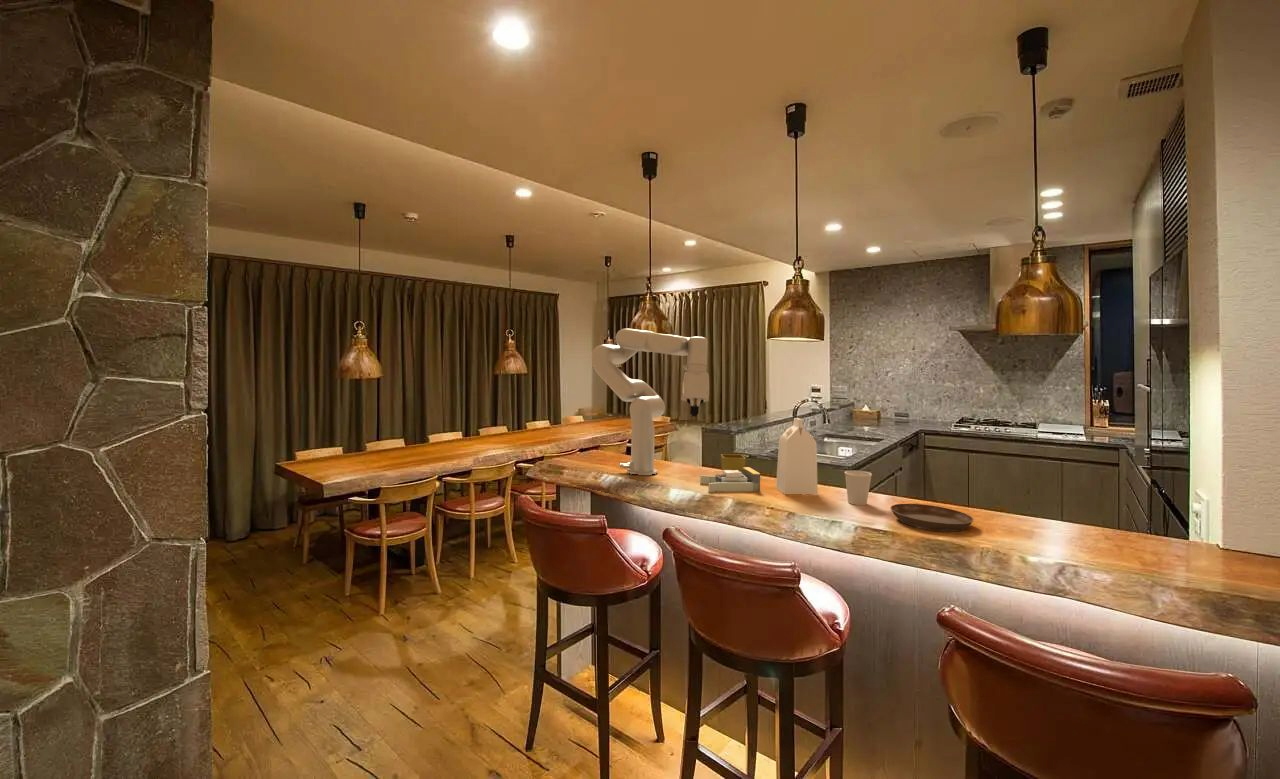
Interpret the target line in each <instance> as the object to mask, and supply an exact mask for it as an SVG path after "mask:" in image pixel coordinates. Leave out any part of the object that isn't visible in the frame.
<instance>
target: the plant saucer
mask: <svg viewBox="0 0 1280 779" xmlns="http://www.w3.org/2000/svg"><path fill="white" fill-rule="evenodd" d="M890 510H891V512H892V514H893V515H894V517H896V518H897V520H898V521H900V522H902V523H904V524H905V525H908V526H912V527H914V526H915V527H914V528H918V527H919V528H920V529H923V530H928V529H929V531H936V532H937V531H938V532H959V530H960V531H962V530H965V529H966V528H968V527H969V526H970V525H971V524H972V523H973V522H974V517H972V516H971V515H970V514H967V513H965V512H962V511H959V510H956V509H951V508H948V507H944V506H943V507H942V506H937V505H931V504H921V503H898V504H893V505H891V506H890ZM919 528H918V529H919Z"/></svg>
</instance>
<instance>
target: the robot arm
mask: <svg viewBox="0 0 1280 779" xmlns="http://www.w3.org/2000/svg"><path fill="white" fill-rule="evenodd" d="M615 342H616V344H617V345H616V344H606V343H605V344H603V343H602V344H600V345H597V346H596V347H594V348H593V350H592V354H591V365H592V367H593V369H594V371H595V372H596V374H597V376H599V378H600V379H601V380H602V381H604V382H605V384H606V385H607V386H608V387H609V388H610V389H611V390H612V392H613V393H615V395H616V396H617V397H618V398H619V399H620V400H621V401H622V402H630V405H629V415H630V422H631V424H630V425H631V440H630V442H631V443H630V444H631V445H630V447H631V448H630V451H631V452H630V454H631V455H630V460H629V462H627V463H623V462H620V463H619V468H620V469H627V470H626V472H628V473H627V474H629V473H630V474H629V475H632V474H638V475H637V476H653V475H652V474H655V475H657V474H658V469H656V468H655V433H656V432H655V431H656V430H655V424H654V420H653V419H657V418H660V417H662V416H663V415H664V414H665V410H666V404H665V402H664V400H663V399H662V397H661V396H660V395H659V394H658V393H657V392H656V391H655V390H654V388H652V387H651V386H650V385H649V384H648V383H646V382H645V381H643V380H641V379H638V378H637V379H635V378H634V379H633V378H630V377H629V376H628V375H627V374H625V373H624V372H623V371H622V369H620V368H619V367H617V365H618V366H619V365H622V364H624V363H626V362H627V361H629V359H631V357H633V356H634V355H635V354H637V353H638V352H645V353H646V352H647V353H651V352H652V353H657V354H664V355H670V356H671V355H672V356H679V357H680V356H681V357H682V356H683V357H685V356H687V358H686V365H682V369H683V370H685V372H684V376H683V379H682V387H681V396H680V397H681V398H680V399H681V401H683V402H687V403H688V405H690V413H689V414H690V415H691V417H697V416H698V415H699V411H700V410H699V409H700V408H699V407H700V406H701V405H702V404H703V403H706V402H709V401H710V376H709V373H708V372H707V362H708V361H707V359H708V346H709V345H708V343H709V342H708V338H706V337H705V336H704V337H703V336H690V337H687V336H681V335H675V334H674V335H673V334H666V333H658V332H655V331H651V330H645V329H643V330H641V329H634V328H621V329H620V330H618V331H617V333H616V335H615ZM694 399H696V401H695V403H694ZM656 473H657V474H656Z"/></svg>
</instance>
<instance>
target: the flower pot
mask: <svg viewBox="0 0 1280 779" xmlns="http://www.w3.org/2000/svg"><path fill="white" fill-rule="evenodd" d="M746 459H747V458H746V457H745V456H744V455H743V454H730V453H728V454H727V453H723V454H722V453H721V454H720V462H721V463H720V464H721V465H720V466H721V470H722V471H723V470H738V471H740V472H741V473H742V474H743V467H746V466H745V465H746Z"/></svg>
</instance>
